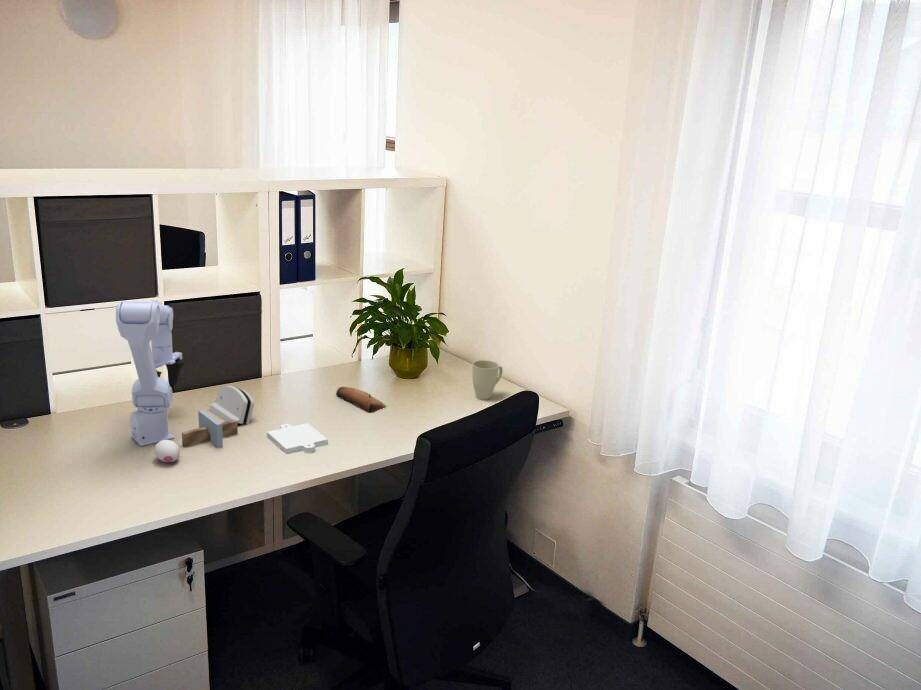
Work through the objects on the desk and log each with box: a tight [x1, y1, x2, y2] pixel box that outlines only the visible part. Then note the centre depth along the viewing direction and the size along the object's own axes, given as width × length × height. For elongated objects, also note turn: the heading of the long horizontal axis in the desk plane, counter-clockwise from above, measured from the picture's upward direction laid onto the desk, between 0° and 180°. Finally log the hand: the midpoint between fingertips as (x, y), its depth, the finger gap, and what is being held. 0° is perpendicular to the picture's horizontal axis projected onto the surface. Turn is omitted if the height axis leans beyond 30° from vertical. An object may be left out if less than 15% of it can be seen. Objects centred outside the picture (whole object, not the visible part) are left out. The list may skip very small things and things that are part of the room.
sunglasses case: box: [335, 386, 388, 414], centre depth 257 cm, size 18×7×7 cm
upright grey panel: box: [197, 409, 224, 448], centre depth 222 cm, size 2×12×7 cm, turn 42°
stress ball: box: [154, 439, 182, 465], centre depth 209 cm, size 8×8×7 cm
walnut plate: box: [181, 420, 238, 448], centre depth 222 cm, size 16×2×4 cm, turn 132°
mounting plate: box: [266, 422, 329, 455], centre depth 226 cm, size 18×13×2 cm
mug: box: [472, 359, 503, 401], centre depth 267 cm, size 11×10×12 cm
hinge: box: [209, 385, 255, 425], centre depth 238 cm, size 17×5×10 cm, turn 44°
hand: (164, 387), depth 233 cm, fingers open, 7 cm apart
